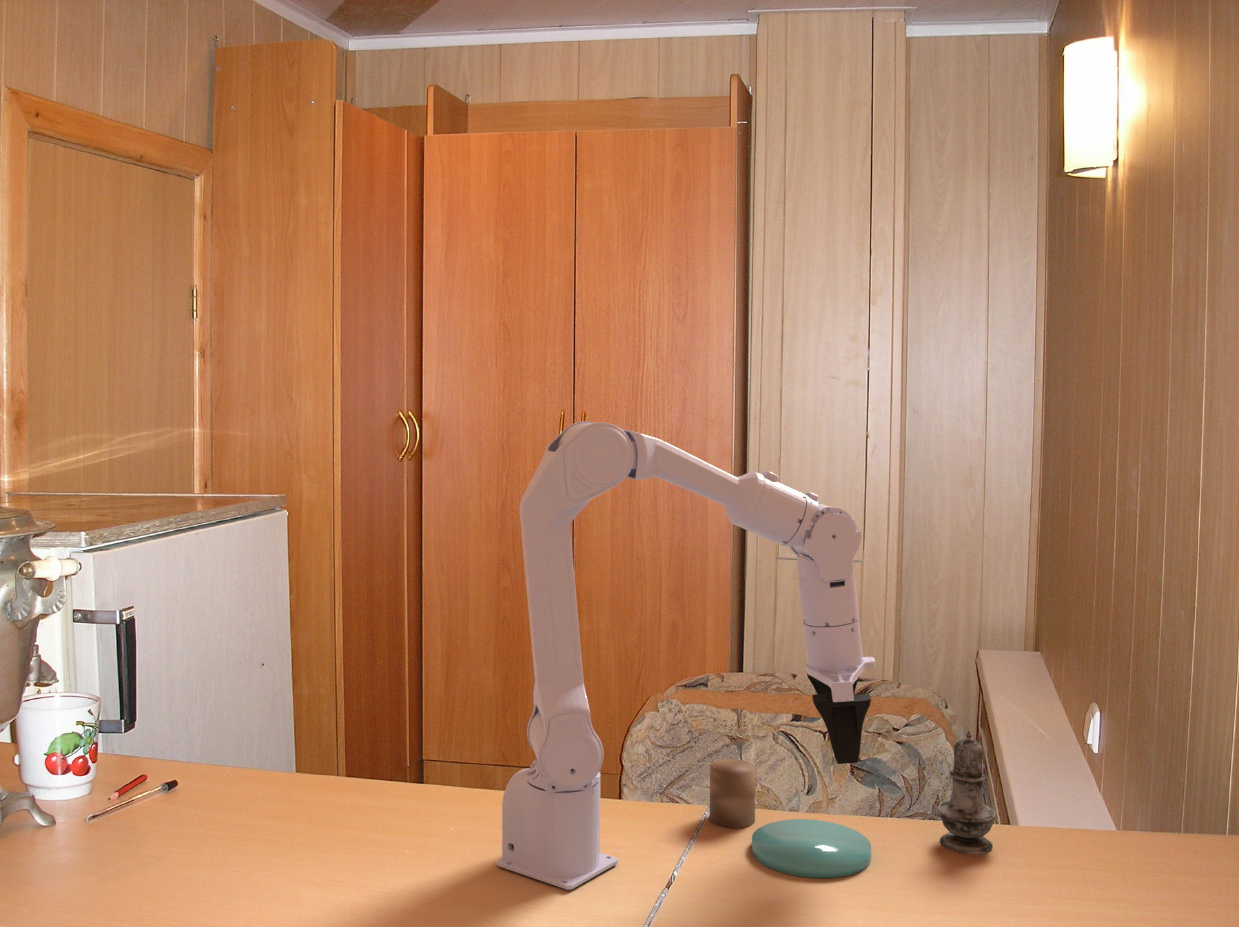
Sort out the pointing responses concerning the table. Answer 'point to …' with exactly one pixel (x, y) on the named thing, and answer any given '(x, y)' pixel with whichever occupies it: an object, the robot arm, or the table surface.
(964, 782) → the salt shaker
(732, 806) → the walnut cylinder
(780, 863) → the teal rounded disc
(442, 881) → the table surface
